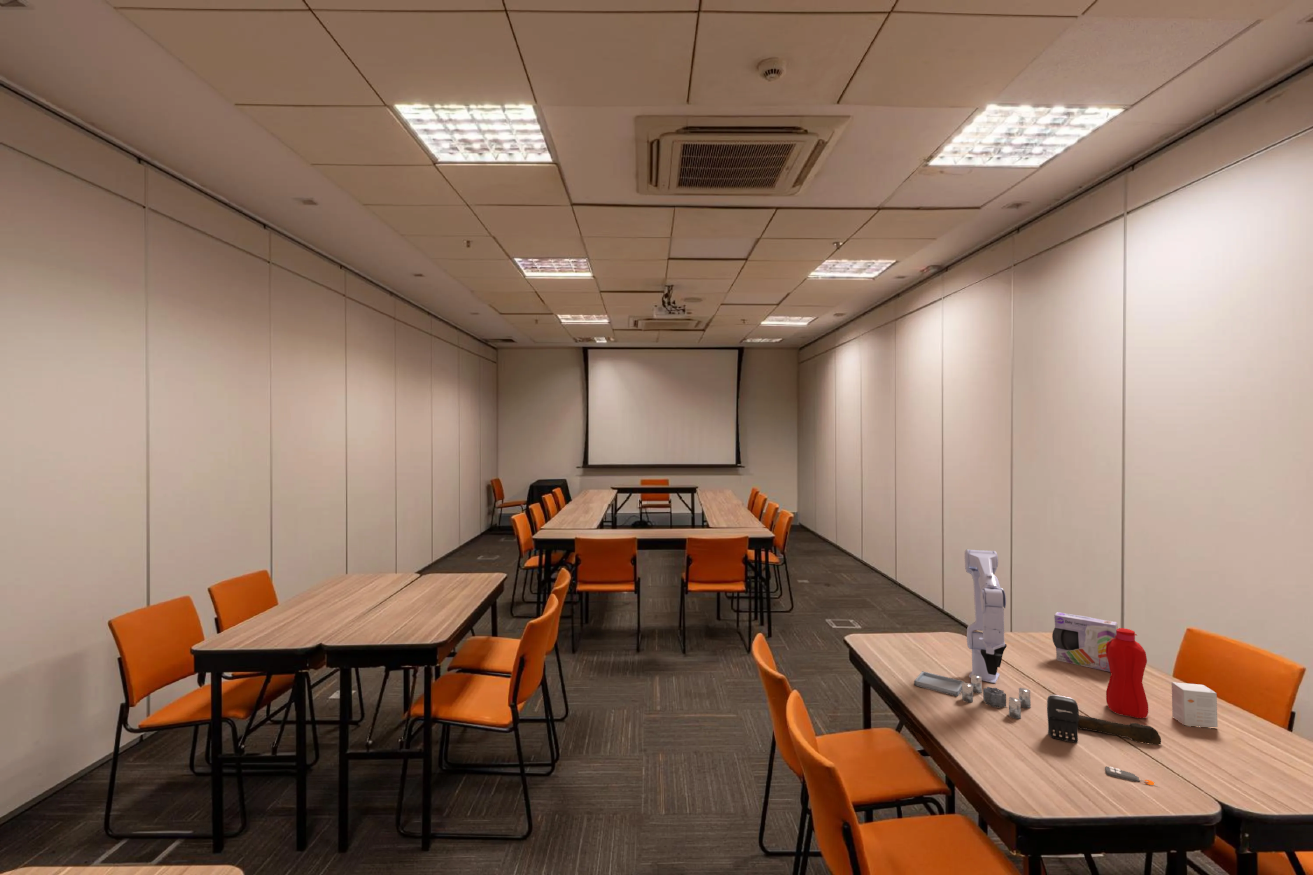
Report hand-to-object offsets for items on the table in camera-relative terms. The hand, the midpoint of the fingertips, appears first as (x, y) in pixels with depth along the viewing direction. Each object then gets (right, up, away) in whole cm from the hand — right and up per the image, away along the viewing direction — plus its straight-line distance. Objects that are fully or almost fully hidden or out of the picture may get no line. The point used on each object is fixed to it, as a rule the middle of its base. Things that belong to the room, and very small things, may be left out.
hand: (994, 670), depth 171 cm
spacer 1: (-7, -11, +2) cm, 13 cm away
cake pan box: (+52, -11, +29) cm, 60 cm away
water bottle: (+36, -10, -5) cm, 38 cm away
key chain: (+11, -11, -39) cm, 42 cm away
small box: (+51, -10, -13) cm, 53 cm away
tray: (-11, -11, +13) cm, 20 cm away
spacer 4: (+8, -10, -2) cm, 14 cm away
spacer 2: (-1, -11, +8) cm, 13 cm away
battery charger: (+6, -10, -21) cm, 24 cm away
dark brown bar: (+22, -11, -19) cm, 31 cm away
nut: (0, -11, 0) cm, 10 cm away
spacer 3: (+1, -10, -8) cm, 13 cm away
